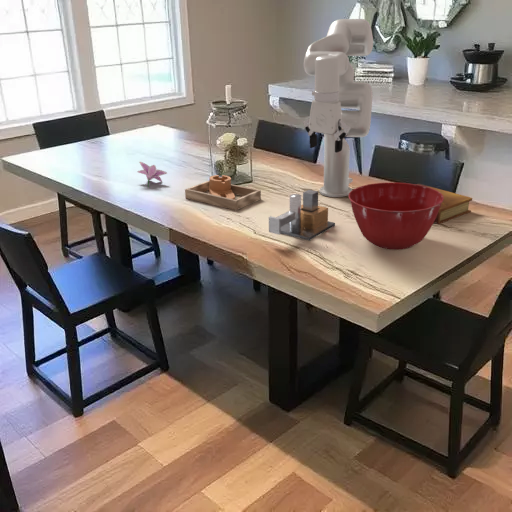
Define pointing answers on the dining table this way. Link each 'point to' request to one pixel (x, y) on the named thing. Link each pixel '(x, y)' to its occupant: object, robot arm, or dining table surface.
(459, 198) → the diary
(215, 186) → the bracket
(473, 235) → the dining table surface
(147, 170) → the lily
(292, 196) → the grey stepped fixture
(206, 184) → the wooden tray
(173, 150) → the dining table surface
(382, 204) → the mixing bowl
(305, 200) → the grey rectangular block
